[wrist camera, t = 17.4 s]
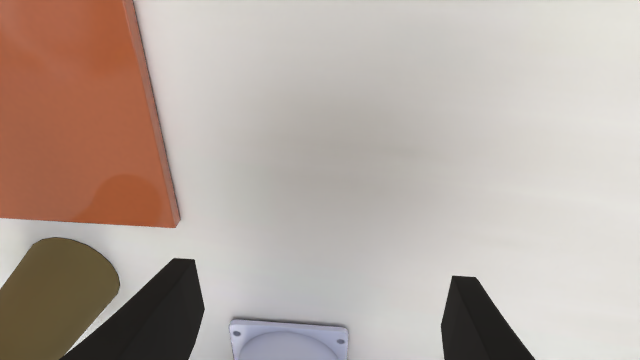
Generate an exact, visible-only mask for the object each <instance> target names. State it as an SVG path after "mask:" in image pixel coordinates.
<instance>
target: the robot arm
mask: <svg viewBox="0 0 640 360" xmlns="http://www.w3.org/2000/svg"><path fill="white" fill-rule="evenodd" d="M204 310H205V308H204V303H203V298H202V293H201V289H200V284H199V279H198V274H197V269H196V265H195V260H194V259H178V258H173V259H172V260H171V261H170V262H169V263H168V264H167V265H166V266H165V267H164V268H163V269H162V270H161V271H159V272H158V273H157V274H156V275H155V276H154V277H153V278H152V279H151V280H150V281H149V282H148V283H147V284H146V285H145V286H144V287H143V288H142V289H141V290H140V291H139V292H138V293H136V294H135V295H134V296H133V297H132V298H131V299H130V300H129V301H128V302H127V303H126V304H125V305H123V306H122V307H121V308H120V309H119V310H118V311H117V312H116V313H115V314H114V315H113V316H111V317H110V318H109V319H108V320H107V321H106V322H104V323H103V324H102V325H101V326H100V327H99V328H97V329H96V330H95V331H94V332H93V333H91V334H90V335H89V336H88V337H87V338H86V339H84V340H83V341H82V342H81V343H79V344H78V345H77V346H76V347H74V348H73V349H72V350H71V351H69V352H68V353H67V354H65V355H64V356H63V357H62V358H60V359H59V360H188V359H189V357H190V354H191V352H192V350H193V347H194V345H195V342H196V338H197V335H198V332H199V328H200V325H201V321H202V317H203V314H204ZM229 332H230V338H231V344H232V350H233V355H234V360H347V353H348V334H349V333H348V330H347V329H345V328H343V327H333V326H319V325H305V324H291V323H278V322H264V321H250V320H232V321H231V322H230V324H229ZM441 332H442V342H443V351H444V359H445V360H535V359H534V357H533V356H532V355H531V354H530V352H529V351H528V350H527V348H526V347H525V346H524V344H523V343H522V342H521V340H520V339H519V338H518V337H517V335H516V334H515V333H514V331H513V330H512V329H511V327H510V326H509V324H508V323H507V322H506V320H505V319H504V317H503V316H502V315H501V313H500V312H499V310H498V309H497V307H496V306H495V305H494V303H493V302H492V300H491V299H490V297H489V296H488V294H487V293H486V291H485V290H484V288H483V287H482V285H481V284H480V282H479V281H478V280H477V278H476V277H464V276H452V280H451V284H450V288H449V293H448V297H447V302H446V306H445V310H444V315H443V319H442V323H441Z"/></svg>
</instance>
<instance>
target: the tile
mask: <svg viewBox="0 0 640 360" xmlns="http://www.w3.org/2000/svg"><path fill="white" fill-rule="evenodd" d="M0 218H9V219H26V220H43V221H61V222H78V223H96V224H113V225H130V226H148V227H165V228H176V226H177V225H178V223H179V221H180V217H179V212H178V207H177V203H176V198H175V193H174V189H173V184H172V180H171V175H170V170H169V166H168V161H167V157H166V152H165V147H164V143H163V138H162V134H161V129H160V124H159V120H158V115H157V111H156V106H155V101H154V97H153V92H152V88H151V83H150V78H149V74H148V69H147V65H146V60H145V55H144V51H143V46H142V41H141V37H140V32H139V28H138V23H137V18H136V14H135V9H134V5H133V0H0Z"/></svg>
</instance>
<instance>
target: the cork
mask: <svg viewBox="0 0 640 360" xmlns="http://www.w3.org/2000/svg"><path fill="white" fill-rule="evenodd" d="M119 286H120V283H119V279H118V274H117V273H116V271H115V270H114V268H113V266H112V265H111V263H110V262H109V261H108V260H106V259H105V258H104V257H103V256H102V255H101V254H100V253H99V252H97V251H95V250H94V249H92V248H90V247H89V246H87V245H85V244H82V243H79V242H76V241H74V240H71V239H63V238H48V239H42V240H40V241H38V242H37V243H35V244H33V245H32V247H31V248H30V249H29V251H28V252H27V253H26V255H25V256H24V258H23V259H22V260H21V262H20V263H19V264H18V266H17V267H16V269H15V270H14V271H13V273H12V274H11V275H10V277H9V278H8V280H7V281H6V282H5V284H4V285H3V287H2V288H1V289H0V360H59V359H60V358H62V357H63V356H64V355H65V354H66V352H67V351H68V350H69V349H70V348H71V347H72V346H73V344H74V343H75V342H76V341H77V340H78V339H79V337H80V336H81V335H82V334H83V333H84V332H85V331H86V329H87V328H88V327H89V326H90V325H91V324H92V322H93V321H94V320H95V319H96V318H97V317H98V316H99V314H100V313H101V312H102V311H103V310H104V309H105V307H106V306H107V305H108V304H109V303H110V302H111V301H112V299H113V298H114V297H115V296H116V295H117V294H118V290H119Z"/></svg>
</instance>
